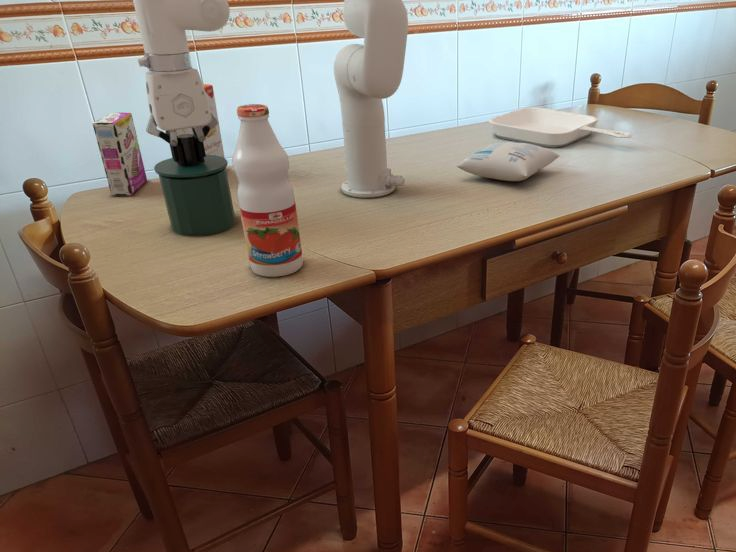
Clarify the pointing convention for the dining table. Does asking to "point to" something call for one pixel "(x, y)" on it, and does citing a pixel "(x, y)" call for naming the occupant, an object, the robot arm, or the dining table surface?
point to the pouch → (508, 161)
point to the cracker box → (214, 136)
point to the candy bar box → (120, 153)
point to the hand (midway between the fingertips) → (190, 162)
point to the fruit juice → (265, 196)
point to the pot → (199, 204)
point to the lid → (190, 161)
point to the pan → (547, 127)
